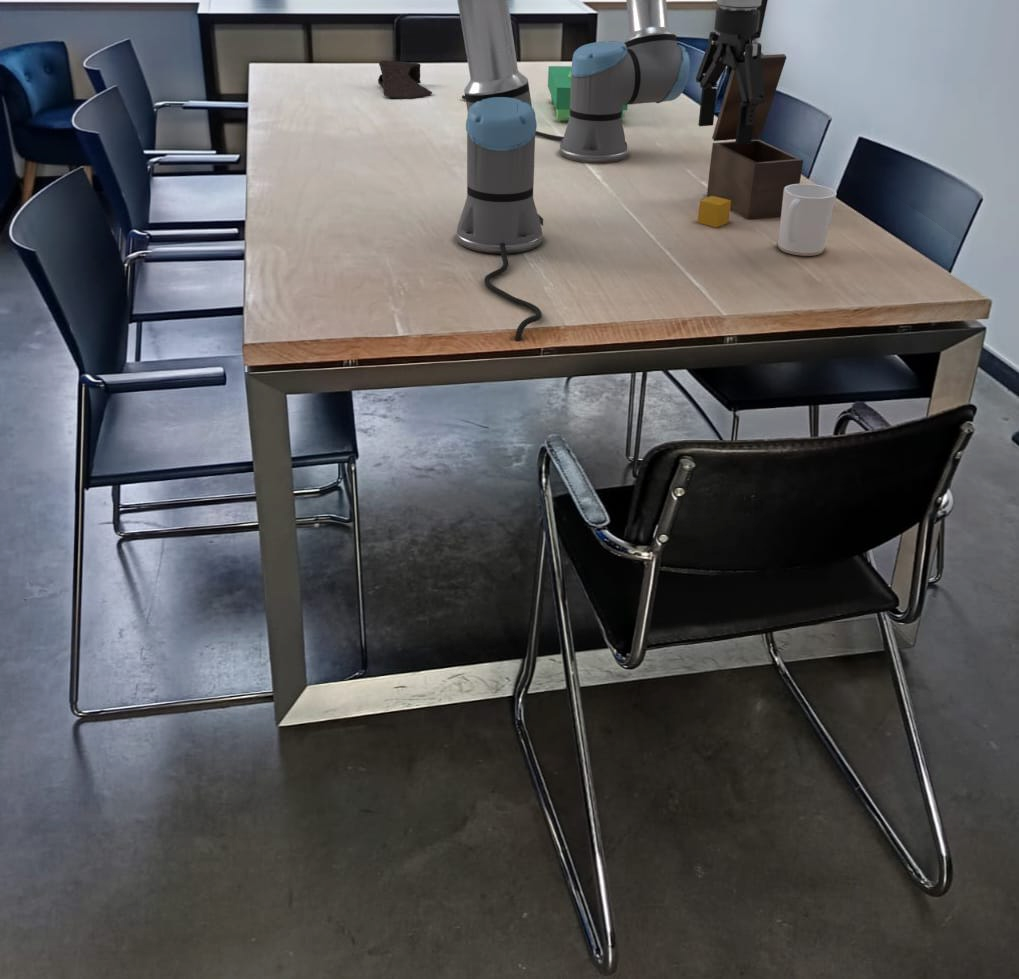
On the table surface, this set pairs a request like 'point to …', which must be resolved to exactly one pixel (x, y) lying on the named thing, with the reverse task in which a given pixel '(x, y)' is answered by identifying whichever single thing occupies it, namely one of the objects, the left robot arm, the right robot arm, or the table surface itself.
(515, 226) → the left robot arm
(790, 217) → the mug
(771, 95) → the lid
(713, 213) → the block
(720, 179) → the chest
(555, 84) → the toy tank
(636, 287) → the table surface
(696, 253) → the table surface
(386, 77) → the axe head
